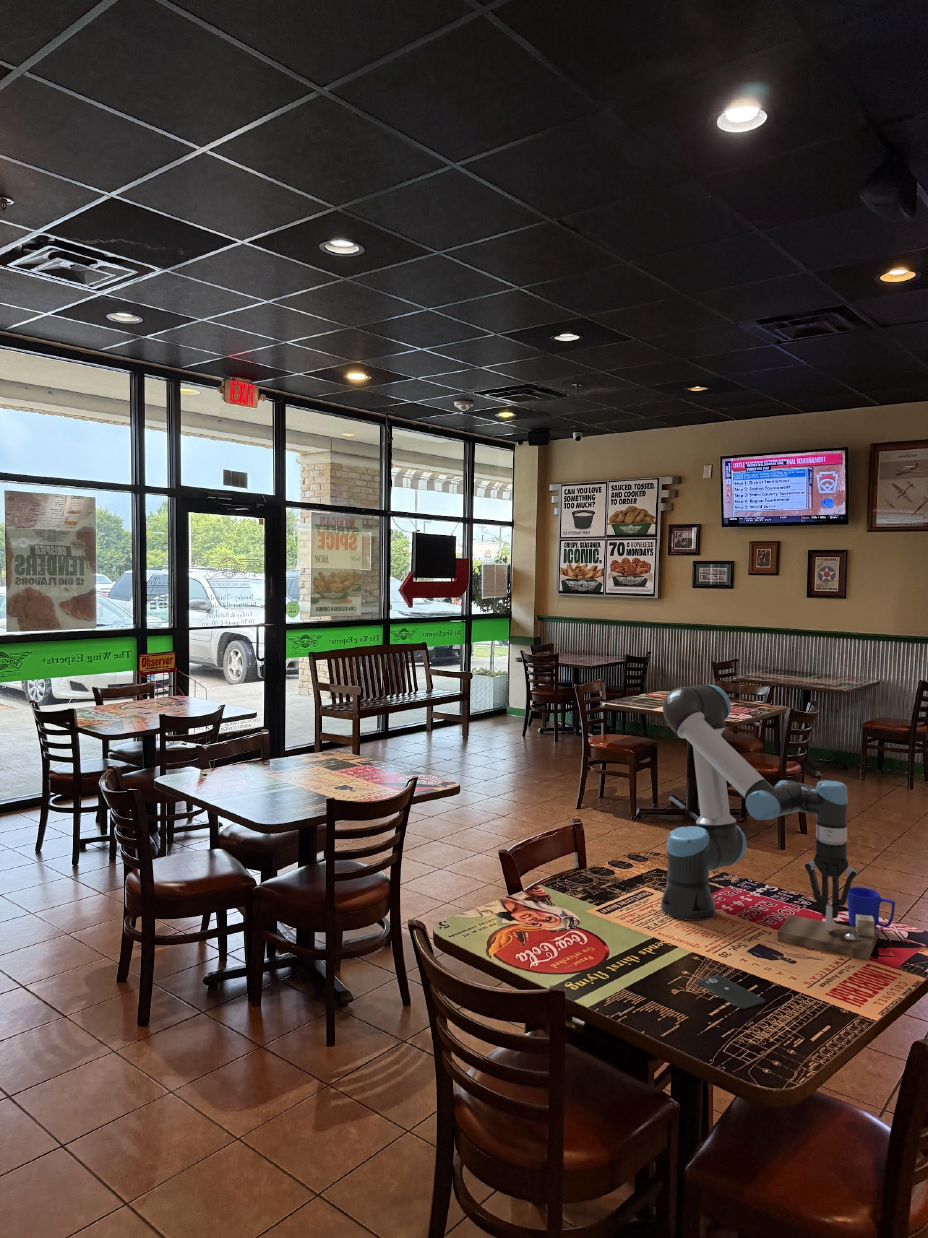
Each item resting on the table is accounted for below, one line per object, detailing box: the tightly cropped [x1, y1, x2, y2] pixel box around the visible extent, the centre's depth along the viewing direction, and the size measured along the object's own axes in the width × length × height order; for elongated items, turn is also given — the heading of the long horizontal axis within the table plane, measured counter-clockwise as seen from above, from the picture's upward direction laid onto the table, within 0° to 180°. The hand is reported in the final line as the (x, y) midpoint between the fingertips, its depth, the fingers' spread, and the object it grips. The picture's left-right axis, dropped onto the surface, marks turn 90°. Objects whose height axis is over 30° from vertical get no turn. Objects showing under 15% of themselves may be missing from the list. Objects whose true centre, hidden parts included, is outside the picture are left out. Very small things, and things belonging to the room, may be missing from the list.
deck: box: [777, 914, 878, 961], centre depth 226 cm, size 22×14×2 cm, turn 57°
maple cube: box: [856, 914, 875, 937], centre depth 225 cm, size 4×4×4 cm
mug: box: [846, 886, 896, 931], centre depth 233 cm, size 8×12×10 cm
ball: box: [844, 933, 856, 939], centre depth 223 cm, size 3×3×3 cm
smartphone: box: [696, 974, 766, 1010], centre depth 198 cm, size 8×15×1 cm, turn 27°
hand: (829, 928), depth 226 cm, fingers closed
